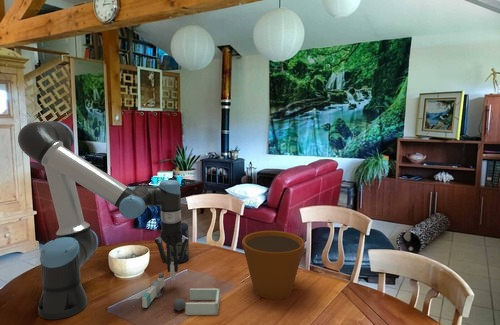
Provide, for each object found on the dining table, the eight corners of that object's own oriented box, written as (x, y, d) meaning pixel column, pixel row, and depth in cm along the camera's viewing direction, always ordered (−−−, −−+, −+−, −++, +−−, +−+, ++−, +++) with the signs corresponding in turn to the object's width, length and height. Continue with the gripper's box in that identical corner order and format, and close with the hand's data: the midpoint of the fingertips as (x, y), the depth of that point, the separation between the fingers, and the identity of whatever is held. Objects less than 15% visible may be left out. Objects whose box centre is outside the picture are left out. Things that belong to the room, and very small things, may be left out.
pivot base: (148, 298, 130) (148, 297, 130) (151, 292, 135) (151, 291, 135) (160, 298, 130) (160, 296, 130) (162, 292, 135) (162, 291, 135)
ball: (181, 313, 121) (170, 310, 121) (185, 310, 125) (174, 306, 125) (184, 301, 121) (173, 298, 122) (187, 298, 125) (177, 295, 125)
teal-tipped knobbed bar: (140, 307, 123) (140, 294, 122) (158, 284, 140) (158, 273, 139) (148, 307, 122) (148, 295, 122) (166, 284, 139) (165, 273, 139)
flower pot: (228, 290, 137) (229, 240, 135) (268, 271, 155) (269, 226, 152) (277, 314, 121) (278, 258, 119) (315, 289, 139) (317, 240, 136)
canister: (186, 264, 161) (186, 225, 158) (165, 264, 161) (165, 225, 158) (190, 256, 170) (190, 219, 168) (170, 255, 170) (170, 219, 168)
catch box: (185, 314, 120) (185, 303, 120) (190, 298, 131) (189, 288, 130) (217, 314, 120) (217, 303, 120) (219, 298, 131) (219, 288, 130)
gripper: (151, 224, 131) (154, 284, 135) (186, 223, 132) (188, 283, 135) (156, 218, 139) (158, 275, 142) (189, 217, 139) (191, 274, 143)
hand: (173, 279), depth 139 cm, fingers closed
